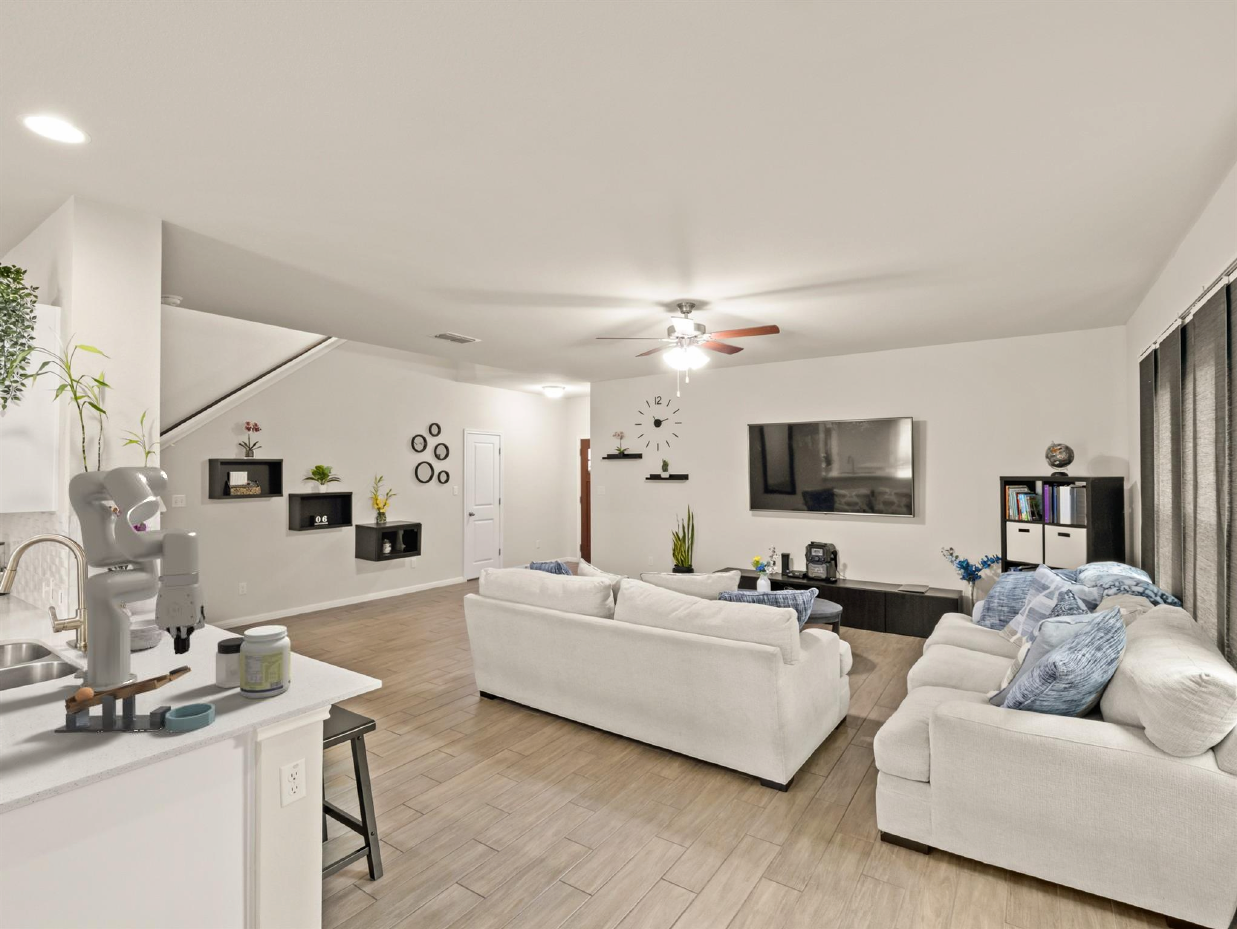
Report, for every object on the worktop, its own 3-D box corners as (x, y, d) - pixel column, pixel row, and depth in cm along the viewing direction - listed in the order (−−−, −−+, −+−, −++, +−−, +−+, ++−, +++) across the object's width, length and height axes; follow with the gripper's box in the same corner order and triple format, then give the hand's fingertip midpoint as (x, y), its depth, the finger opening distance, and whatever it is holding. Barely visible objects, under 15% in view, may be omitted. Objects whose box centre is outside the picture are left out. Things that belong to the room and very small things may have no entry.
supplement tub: (257, 683, 182) (257, 623, 182) (299, 684, 182) (299, 624, 182) (229, 699, 170) (229, 635, 170) (274, 700, 170) (275, 636, 170)
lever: (67, 713, 151) (63, 700, 151) (108, 693, 164) (104, 681, 164) (159, 688, 152) (155, 675, 152) (192, 670, 165) (189, 658, 165)
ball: (73, 707, 151) (68, 693, 151) (85, 701, 155) (80, 687, 155) (88, 702, 152) (83, 688, 152) (99, 696, 155) (94, 683, 155)
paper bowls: (119, 643, 220) (119, 620, 220) (172, 638, 227) (172, 616, 227) (105, 656, 206) (105, 631, 206) (162, 650, 213) (162, 626, 213)
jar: (216, 690, 176) (216, 647, 176) (215, 681, 183) (215, 639, 183) (253, 684, 181) (253, 642, 181) (251, 676, 188) (251, 635, 188)
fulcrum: (54, 732, 149) (54, 698, 149) (82, 718, 157) (82, 685, 157) (157, 731, 150) (157, 696, 150) (180, 716, 159) (180, 683, 159)
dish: (156, 732, 150) (156, 719, 150) (182, 715, 159) (182, 703, 159) (199, 731, 150) (199, 718, 150) (223, 714, 160) (223, 702, 160)
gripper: (140, 583, 158) (141, 658, 158) (202, 582, 159) (203, 656, 159) (160, 578, 166) (161, 649, 166) (219, 576, 167) (220, 647, 167)
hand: (182, 652), depth 162 cm, fingers closed
